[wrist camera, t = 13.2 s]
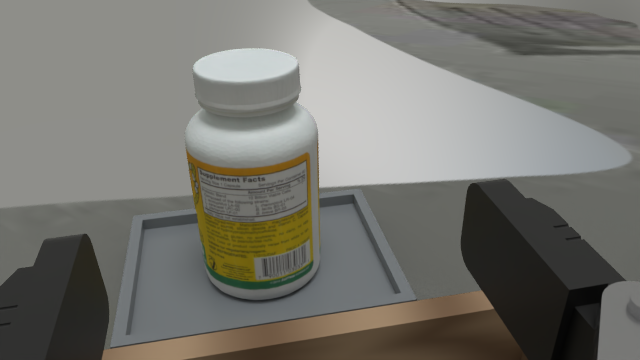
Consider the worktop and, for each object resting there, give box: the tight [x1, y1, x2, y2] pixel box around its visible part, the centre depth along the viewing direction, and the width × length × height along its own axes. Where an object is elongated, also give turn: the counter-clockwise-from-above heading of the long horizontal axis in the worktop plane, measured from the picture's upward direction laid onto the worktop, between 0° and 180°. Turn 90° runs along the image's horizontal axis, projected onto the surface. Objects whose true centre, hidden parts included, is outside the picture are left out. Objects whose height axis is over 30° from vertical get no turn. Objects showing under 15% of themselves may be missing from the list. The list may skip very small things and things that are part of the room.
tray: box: [110, 188, 417, 349], centre depth 26 cm, size 12×9×2 cm
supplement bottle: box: [185, 48, 321, 300], centre depth 23 cm, size 5×5×10 cm
